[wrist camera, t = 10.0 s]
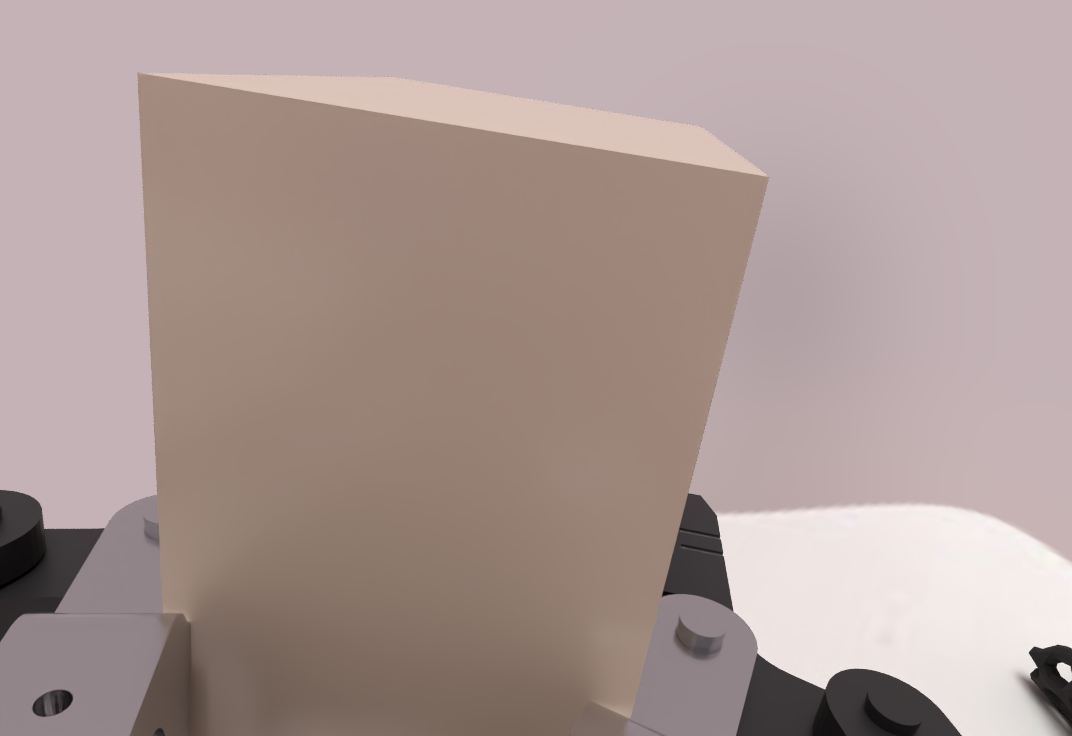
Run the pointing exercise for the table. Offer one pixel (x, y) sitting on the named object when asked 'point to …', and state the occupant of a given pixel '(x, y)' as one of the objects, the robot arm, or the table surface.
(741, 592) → the table surface
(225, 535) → the beige wooden block
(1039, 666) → the decorative element
